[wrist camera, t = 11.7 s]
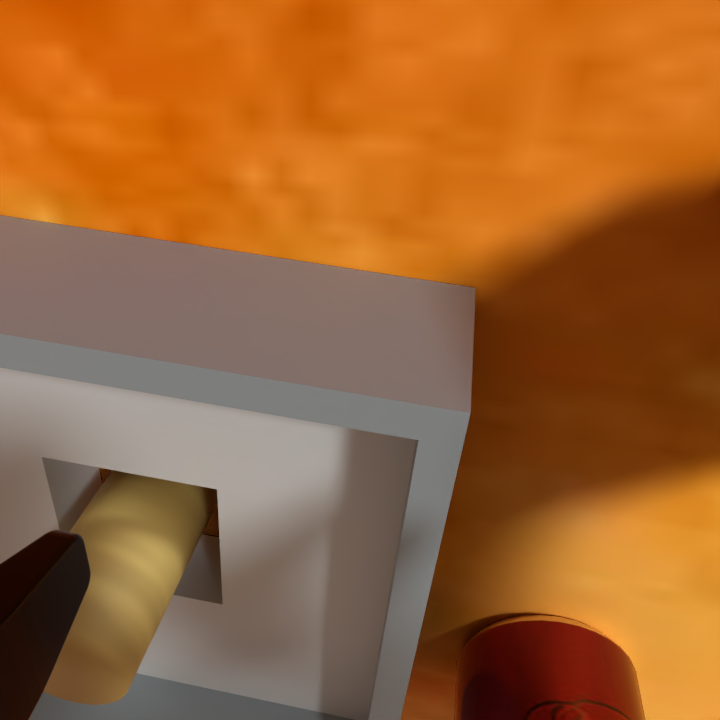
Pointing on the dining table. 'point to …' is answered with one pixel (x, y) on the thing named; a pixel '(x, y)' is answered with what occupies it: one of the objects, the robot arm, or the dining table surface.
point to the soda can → (545, 673)
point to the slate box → (242, 455)
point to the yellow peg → (127, 580)
